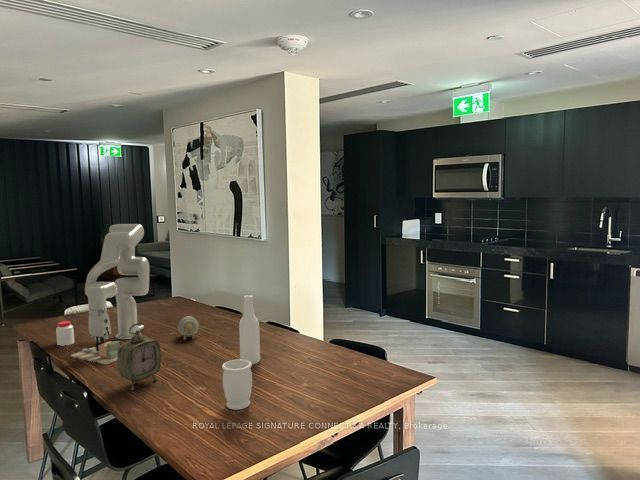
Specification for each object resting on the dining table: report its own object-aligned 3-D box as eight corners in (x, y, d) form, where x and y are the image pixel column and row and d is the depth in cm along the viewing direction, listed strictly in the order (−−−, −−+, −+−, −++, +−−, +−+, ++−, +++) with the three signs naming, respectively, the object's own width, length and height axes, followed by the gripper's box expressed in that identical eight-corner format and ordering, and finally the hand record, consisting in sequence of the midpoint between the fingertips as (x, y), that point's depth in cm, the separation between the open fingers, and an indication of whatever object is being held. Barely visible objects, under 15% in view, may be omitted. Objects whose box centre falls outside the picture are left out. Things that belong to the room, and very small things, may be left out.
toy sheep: (180, 343, 237) (179, 321, 236) (176, 333, 252) (175, 313, 251) (201, 340, 241) (200, 319, 240) (196, 331, 256) (195, 311, 255)
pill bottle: (66, 346, 234) (65, 324, 233) (53, 345, 236) (52, 324, 235) (77, 341, 242) (76, 320, 241) (64, 340, 243) (63, 320, 242)
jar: (225, 399, 172) (224, 359, 170) (253, 397, 172) (252, 358, 171) (221, 412, 161) (220, 370, 159) (252, 410, 162) (250, 369, 160)
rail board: (70, 356, 219) (69, 340, 218) (93, 349, 229) (92, 333, 229) (105, 364, 208) (104, 347, 207) (127, 356, 219) (126, 339, 218)
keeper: (99, 357, 214) (98, 345, 214) (110, 352, 220) (109, 341, 219) (106, 358, 212) (105, 346, 211) (117, 354, 217) (116, 342, 217)
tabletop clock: (131, 393, 178) (127, 329, 175) (116, 388, 182) (112, 326, 180) (162, 380, 190) (158, 320, 187) (147, 375, 195) (144, 317, 192)
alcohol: (252, 356, 215) (250, 292, 212) (264, 361, 209) (262, 295, 206) (236, 361, 209) (234, 296, 206) (248, 366, 203) (245, 299, 200)
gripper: (116, 311, 216) (118, 350, 218) (94, 308, 223) (96, 345, 225) (102, 315, 209) (104, 355, 211) (79, 312, 216) (82, 350, 218)
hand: (100, 350), depth 218 cm, fingers closed
